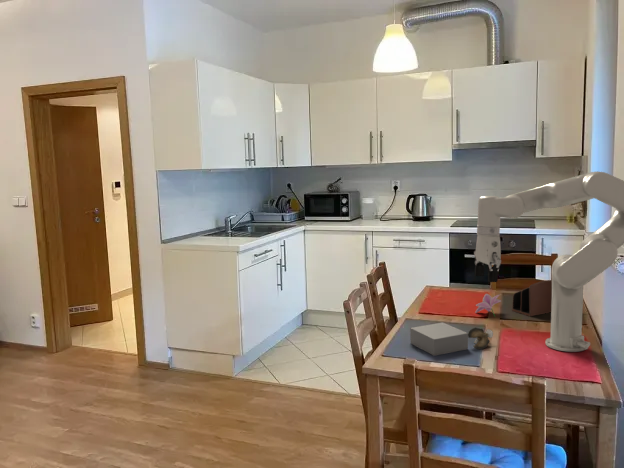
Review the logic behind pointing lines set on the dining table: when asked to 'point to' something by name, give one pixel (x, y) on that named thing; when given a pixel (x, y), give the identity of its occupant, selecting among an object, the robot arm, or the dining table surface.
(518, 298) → the letter holder
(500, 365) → the dining table surface
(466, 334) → the gray block
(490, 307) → the lily
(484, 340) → the eagle figurine
